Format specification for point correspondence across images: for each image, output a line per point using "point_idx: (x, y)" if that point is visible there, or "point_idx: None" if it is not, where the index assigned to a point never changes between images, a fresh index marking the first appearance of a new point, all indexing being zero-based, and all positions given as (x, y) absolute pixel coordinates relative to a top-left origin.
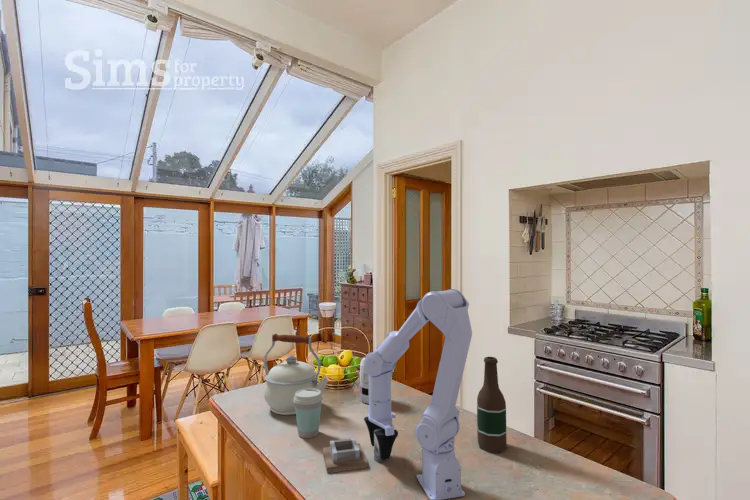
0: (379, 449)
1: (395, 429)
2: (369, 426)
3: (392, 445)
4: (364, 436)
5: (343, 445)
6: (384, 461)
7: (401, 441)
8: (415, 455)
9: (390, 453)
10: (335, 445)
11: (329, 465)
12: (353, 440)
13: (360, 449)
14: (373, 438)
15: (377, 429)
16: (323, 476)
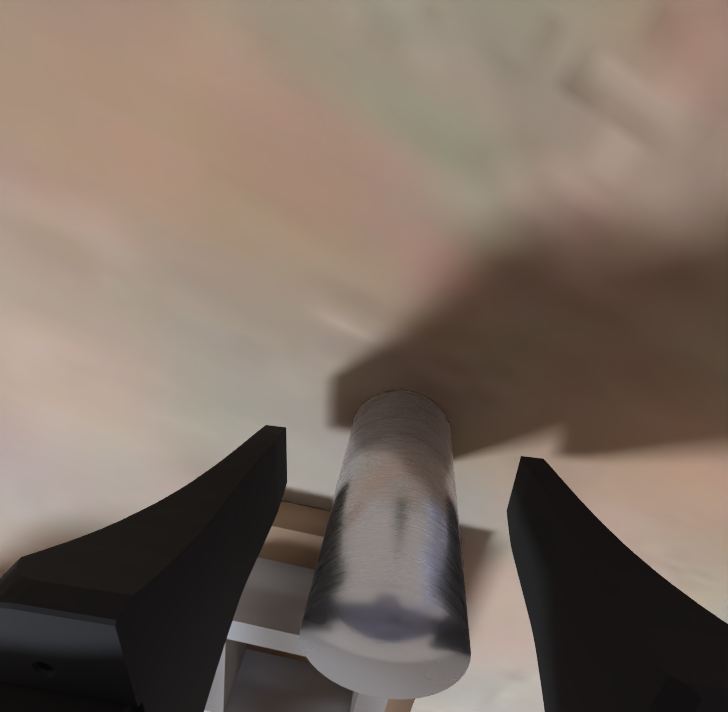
0: (529, 600)
1: (703, 704)
2: (209, 680)
3: (633, 555)
4: (24, 389)
5: (236, 644)
6: (449, 425)
7: (162, 116)
8: (493, 116)
9: (567, 488)
10: (233, 684)
11: (389, 709)
12: (233, 630)
13: (271, 535)
14: (262, 524)
15: (310, 645)
16: (428, 708)
